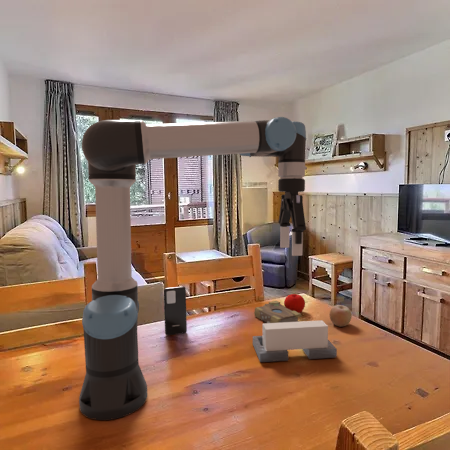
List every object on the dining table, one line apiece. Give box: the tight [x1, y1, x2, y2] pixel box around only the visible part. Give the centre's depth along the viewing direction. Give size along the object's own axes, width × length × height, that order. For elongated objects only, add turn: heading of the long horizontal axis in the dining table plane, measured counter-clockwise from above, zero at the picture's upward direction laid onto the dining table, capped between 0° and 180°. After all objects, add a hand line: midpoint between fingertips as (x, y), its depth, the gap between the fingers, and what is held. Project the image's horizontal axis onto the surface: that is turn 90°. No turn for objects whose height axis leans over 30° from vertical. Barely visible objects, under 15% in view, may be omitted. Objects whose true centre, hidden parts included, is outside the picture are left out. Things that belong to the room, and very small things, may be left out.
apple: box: [283, 293, 306, 314], centre depth 137 cm, size 8×8×7 cm
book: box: [253, 300, 302, 323], centre depth 129 cm, size 15×11×5 cm
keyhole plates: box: [252, 335, 338, 363], centre depth 106 cm, size 22×12×2 cm, turn 96°
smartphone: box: [163, 286, 188, 336], centre depth 118 cm, size 7×1×16 cm, turn 107°
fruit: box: [329, 302, 353, 328], centre depth 124 cm, size 8×7×8 cm
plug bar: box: [261, 320, 329, 351], centre depth 103 cm, size 18×4×8 cm, turn 96°
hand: (290, 251), depth 104 cm, fingers open, 13 cm apart
